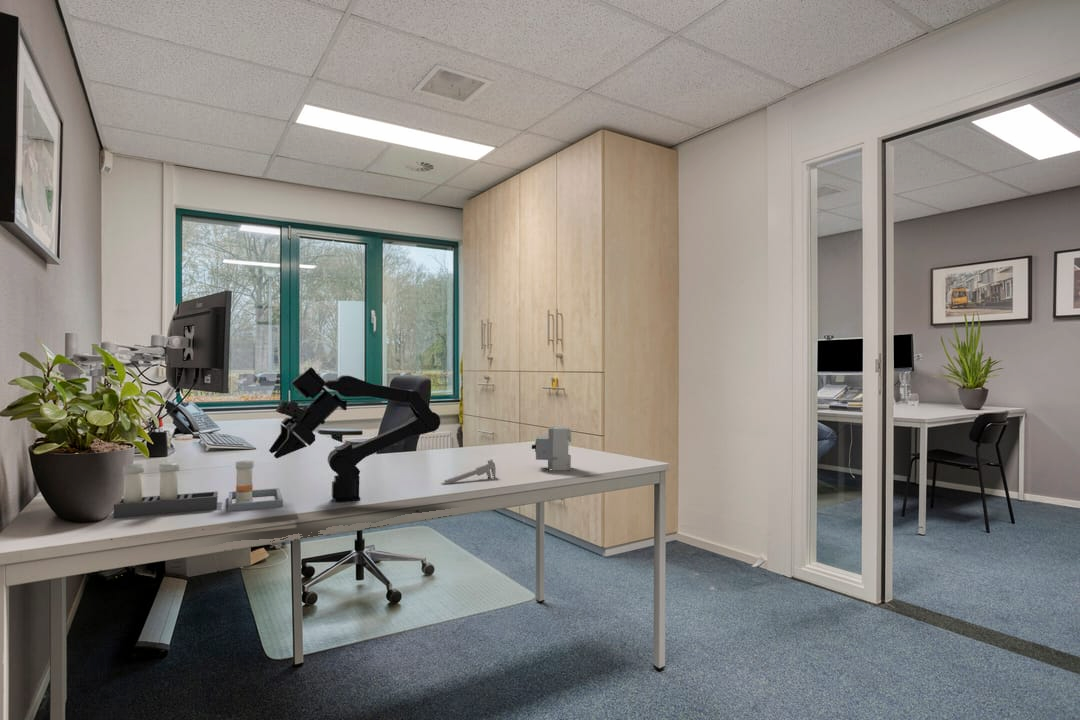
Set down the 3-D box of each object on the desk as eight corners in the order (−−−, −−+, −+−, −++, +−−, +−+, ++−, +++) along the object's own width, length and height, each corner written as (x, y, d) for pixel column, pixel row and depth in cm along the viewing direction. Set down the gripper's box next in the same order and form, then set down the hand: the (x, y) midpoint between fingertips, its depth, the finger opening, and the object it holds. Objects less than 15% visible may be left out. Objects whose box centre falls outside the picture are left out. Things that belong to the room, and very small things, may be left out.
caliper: (493, 477, 193) (493, 458, 193) (495, 478, 192) (495, 459, 192) (441, 485, 179) (441, 464, 179) (443, 485, 178) (443, 465, 178)
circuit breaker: (532, 466, 214) (532, 426, 214) (570, 467, 213) (571, 426, 214) (530, 469, 206) (531, 428, 207) (570, 470, 206) (571, 429, 206)
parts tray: (279, 499, 156) (279, 488, 156) (282, 512, 142) (282, 500, 142) (228, 503, 150) (228, 491, 150) (227, 517, 137) (227, 504, 137)
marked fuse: (252, 503, 147) (253, 460, 147) (253, 506, 144) (253, 462, 144) (235, 504, 145) (235, 461, 146) (235, 508, 142) (235, 463, 142)
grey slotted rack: (222, 508, 145) (222, 490, 145) (221, 515, 138) (221, 497, 138) (113, 517, 135) (114, 498, 135) (106, 526, 128) (107, 506, 128)
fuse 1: (144, 510, 136) (145, 463, 136) (141, 514, 132) (142, 466, 132) (123, 512, 134) (124, 464, 134) (120, 516, 130) (121, 467, 130)
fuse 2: (179, 507, 139) (180, 462, 139) (177, 511, 135) (178, 464, 135) (159, 509, 137) (160, 463, 137) (157, 513, 134) (158, 465, 134)
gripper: (290, 388, 159) (245, 429, 153) (303, 391, 143) (252, 437, 137) (319, 415, 163) (276, 457, 157) (334, 422, 147) (287, 468, 141)
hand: (272, 454), depth 148 cm, fingers open, 9 cm apart
